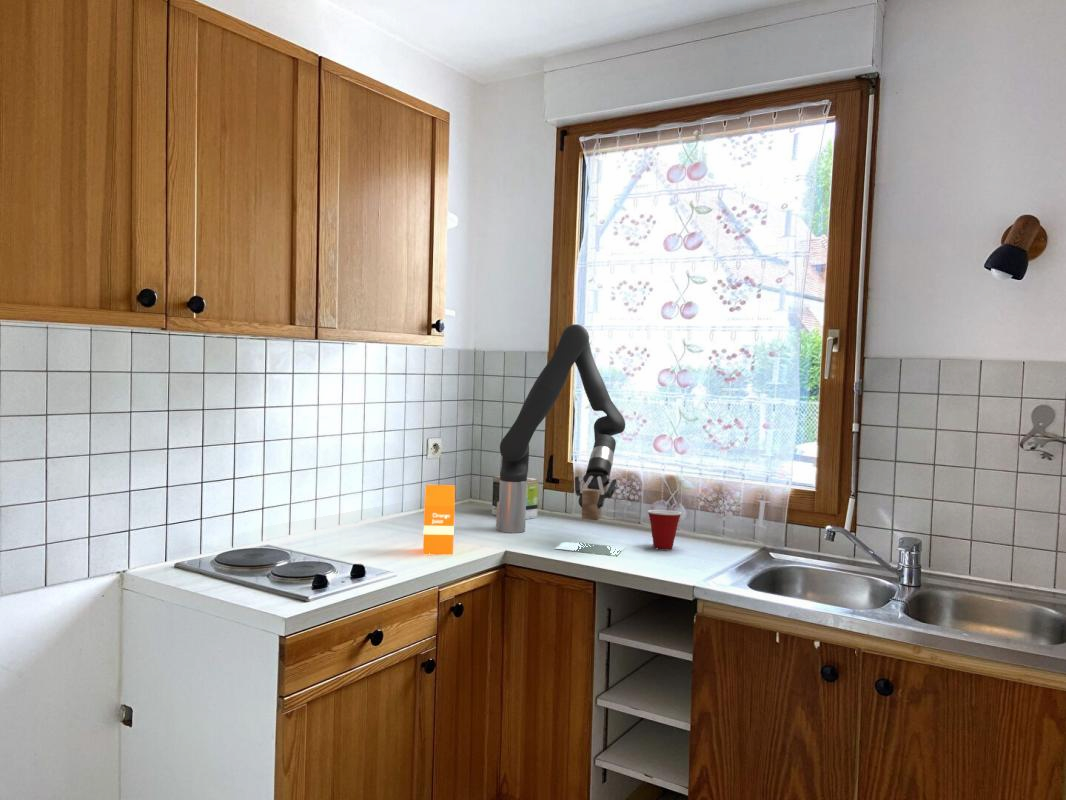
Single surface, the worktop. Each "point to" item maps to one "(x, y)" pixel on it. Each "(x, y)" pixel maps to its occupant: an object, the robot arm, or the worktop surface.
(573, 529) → the worktop surface
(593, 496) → the walnut block
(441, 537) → the orange juice
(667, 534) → the plastic cup
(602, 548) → the mat
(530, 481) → the tea box
